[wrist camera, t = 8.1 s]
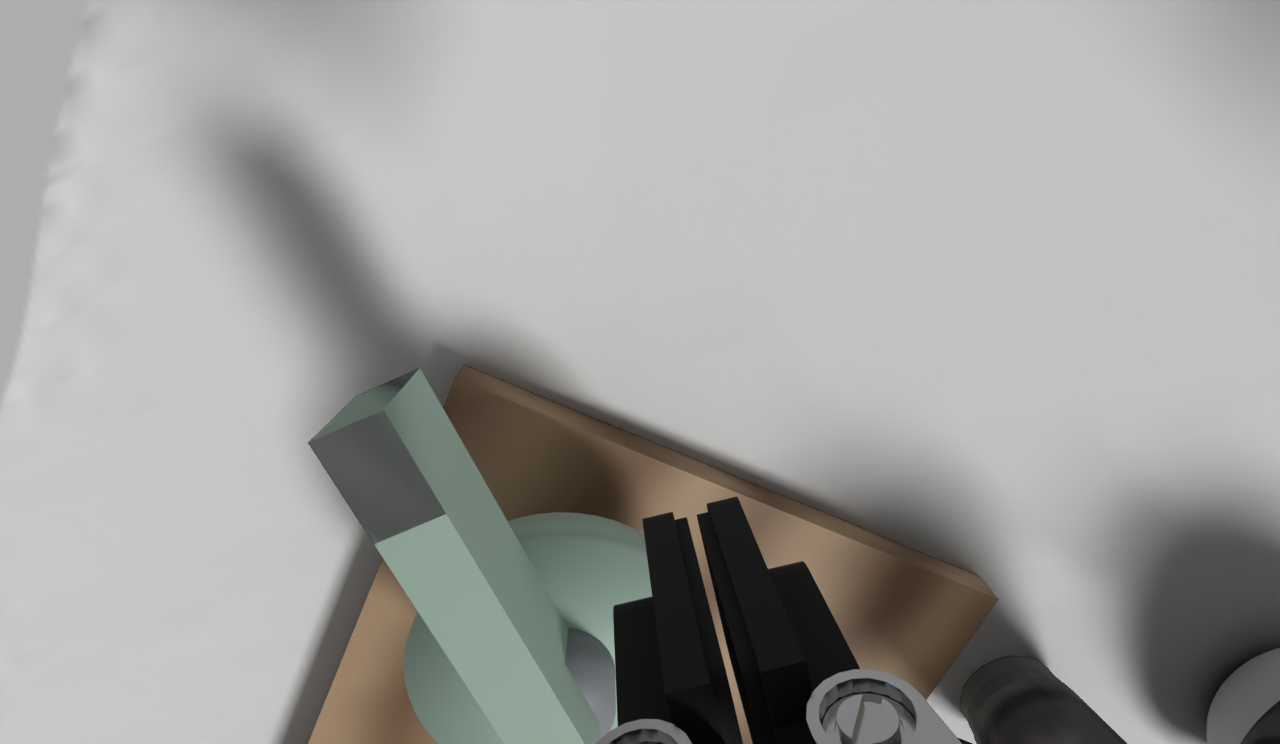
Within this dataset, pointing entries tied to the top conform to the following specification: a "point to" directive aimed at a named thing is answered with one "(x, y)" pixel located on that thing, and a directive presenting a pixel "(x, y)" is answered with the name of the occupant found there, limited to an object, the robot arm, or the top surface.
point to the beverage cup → (1029, 707)
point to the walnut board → (628, 492)
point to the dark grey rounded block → (1248, 704)
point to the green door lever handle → (484, 579)
